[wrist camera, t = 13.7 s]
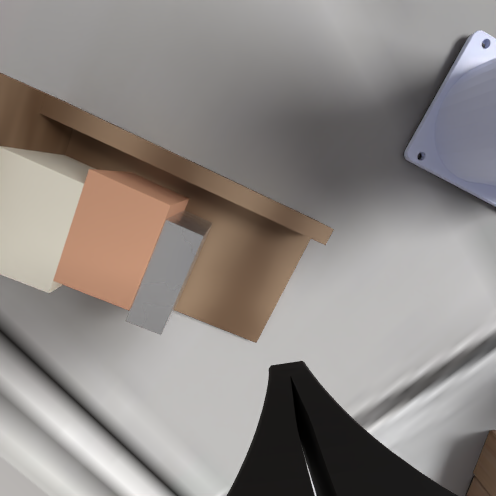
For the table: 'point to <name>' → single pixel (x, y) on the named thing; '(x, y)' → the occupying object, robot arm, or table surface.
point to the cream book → (36, 213)
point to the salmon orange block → (115, 234)
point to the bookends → (485, 469)
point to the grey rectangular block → (168, 270)
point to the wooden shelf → (200, 204)
